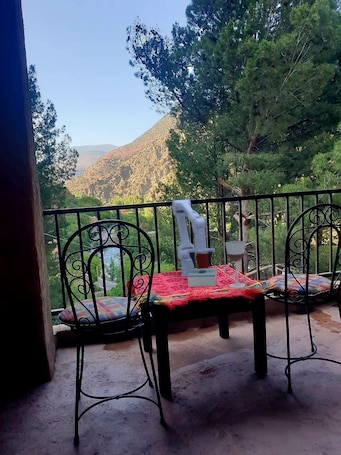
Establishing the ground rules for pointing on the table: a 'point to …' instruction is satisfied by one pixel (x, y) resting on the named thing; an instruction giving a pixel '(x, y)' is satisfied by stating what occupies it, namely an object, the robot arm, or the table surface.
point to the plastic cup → (202, 260)
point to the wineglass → (236, 257)
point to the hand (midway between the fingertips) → (201, 266)
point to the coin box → (202, 277)
